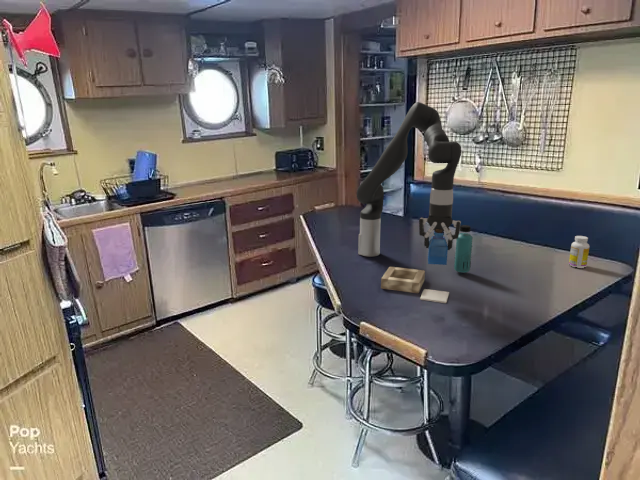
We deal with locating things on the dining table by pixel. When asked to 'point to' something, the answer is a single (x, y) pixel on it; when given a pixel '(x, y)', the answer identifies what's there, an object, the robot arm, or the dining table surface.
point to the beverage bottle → (463, 250)
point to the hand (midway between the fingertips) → (437, 248)
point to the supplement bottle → (579, 251)
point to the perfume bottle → (437, 249)
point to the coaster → (434, 296)
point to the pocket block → (403, 279)
